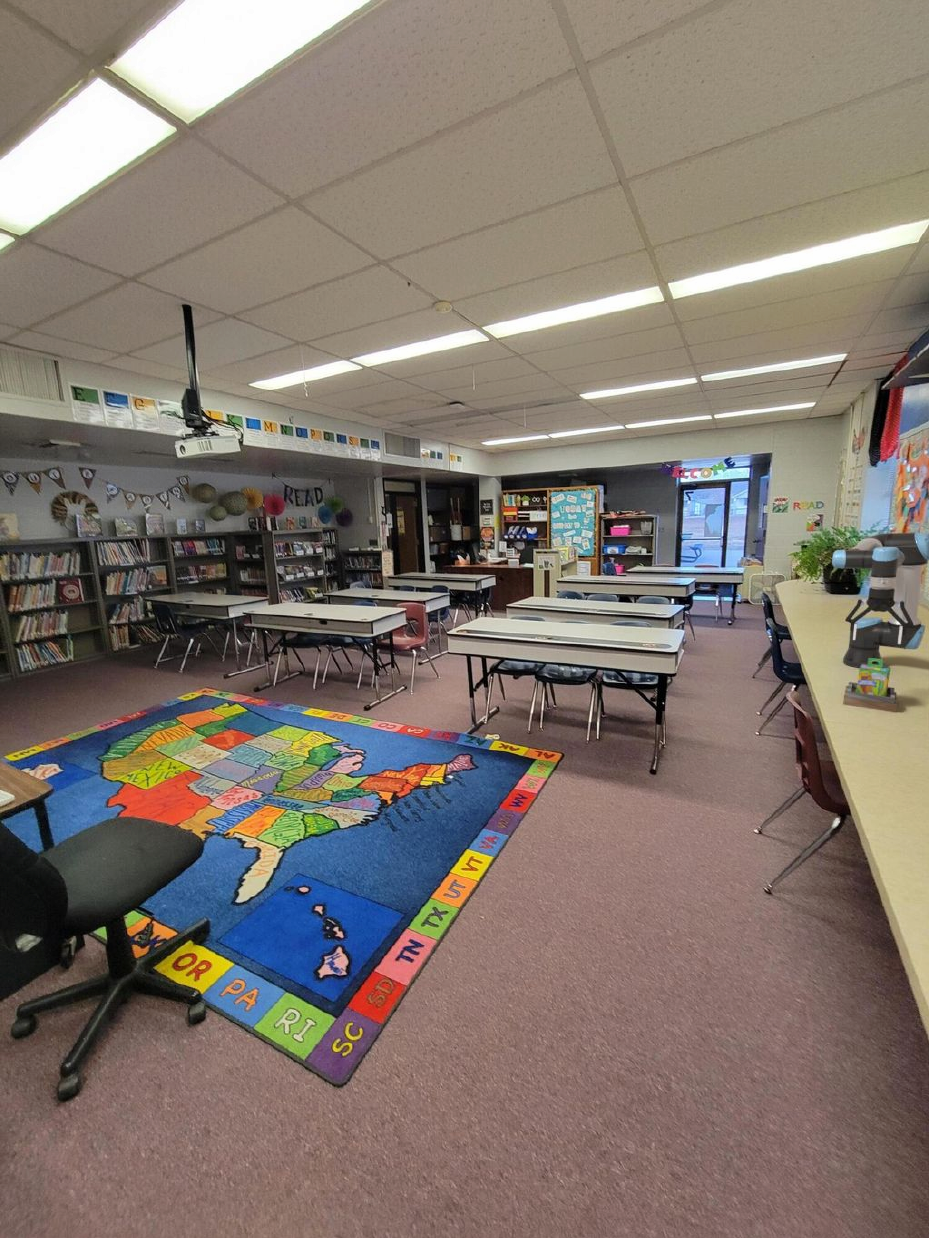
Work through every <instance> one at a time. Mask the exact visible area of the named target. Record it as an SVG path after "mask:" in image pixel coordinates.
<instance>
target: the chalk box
mask: <svg viewBox="0 0 929 1238" xmlns="http://www.w3.org/2000/svg"><path fill="white" fill-rule="evenodd" d="M873 661H877V662H878V663H879V665H874V664H872V662H873ZM890 673H891V666H886V665H884V659H882V658H881V659H874V658H869V659H868V664H865V663H862V664H861V667H860V668H859V671H858V676H857V677H858V678H857V683H858V684H857V691H856V693H863V694H870V695H877V696H884V697H886V695H887V689H888V687H889V681H890Z"/></svg>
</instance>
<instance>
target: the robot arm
mask: <svg viewBox="0 0 929 1238" xmlns="http://www.w3.org/2000/svg"><path fill="white" fill-rule="evenodd" d="M928 561H929V533H927V532H896V533H895V532H894V533H889V532H887V533H881V534H875V535H871V536H869V537H868V536H867V537H865V538H864V539H862V540H860V541H859V542H857V544H856V545H855V546H853V547H851V548H849V549H837V550H835V551H834V552H833V553H832V560H831V563H832V566H833V568H835V569H864V570H865V569H866V570H868V569H869V570H871V572H870V576H869V577H870V578H869V590H868V597H867V599H862V598H858V599H857V602H856V605H855V606H854V608H853V609H852V610H851V611H850V613H848V615H847V616H846V617H845V622H846V623H849V624H850V627H849V641H848V642H849V643H848V649H847V650H846V652H845V653H844V656H843V658H842V663H843V664H844V665H845V666H846V665H847V666H849V667H854V668H859V669H860V667H861V664H862V663H865V664H868V659H869V658H874V659H882V656H881V653H880V647H888V648H896V649H902V650H917V649H918V648H919V647H920V645H921V643H922V641H923V638H924V634H925V631H926V625H924V624H922V620H921V619H919V617H918V614H919V613H918V612H919V604H920V603H919V602H920V593H921V583H922V572H923V568H924V567H925V566H926V565H927V564H928ZM864 604H866V605H867V606H868V607H866V608H865V609H863V611H861V612H860V613H859V614H857V616H855V617H854V618H853V616H854V615H855V614H856V613H857V612H858V610H859V609H860V608H861V606H863V605H864ZM871 611H873V612H874V613H875V612H876V613H877V612H880V613H886V612H888V613H889V614H890V615H891V617H889V618H887V621H884V620H883V618H881V617H865V616H866V615H867V614H868V613H870V612H871ZM852 618H853V619H852ZM872 664H874V665H879V663H878V662H877V661H873V662H872Z"/></svg>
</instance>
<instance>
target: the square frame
mask: <svg viewBox="0 0 929 1238" xmlns="http://www.w3.org/2000/svg"><path fill="white" fill-rule="evenodd" d="M857 684H858V682H851V681H849V682H848V685H845V690H844V695H843V702H842V705H845V706H846V705H847V706H851V707H857V708H858V707H860V708H865V709H871V710H872V709H873V710H878V711H885V712H891V713H897V707H898V697H897V691H895V687H891V686H888V689H887V695H886V697H884V696H877V695H870V694H863V693H856V691H857Z"/></svg>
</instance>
